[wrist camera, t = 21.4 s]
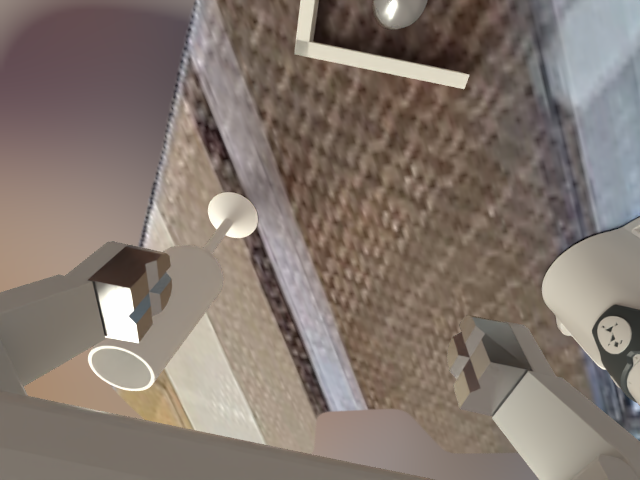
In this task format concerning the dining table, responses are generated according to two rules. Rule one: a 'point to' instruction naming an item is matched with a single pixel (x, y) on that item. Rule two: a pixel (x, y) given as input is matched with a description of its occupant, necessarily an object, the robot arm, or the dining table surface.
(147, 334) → the champagne flute
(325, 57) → the frame
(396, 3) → the steel part
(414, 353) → the dining table surface
